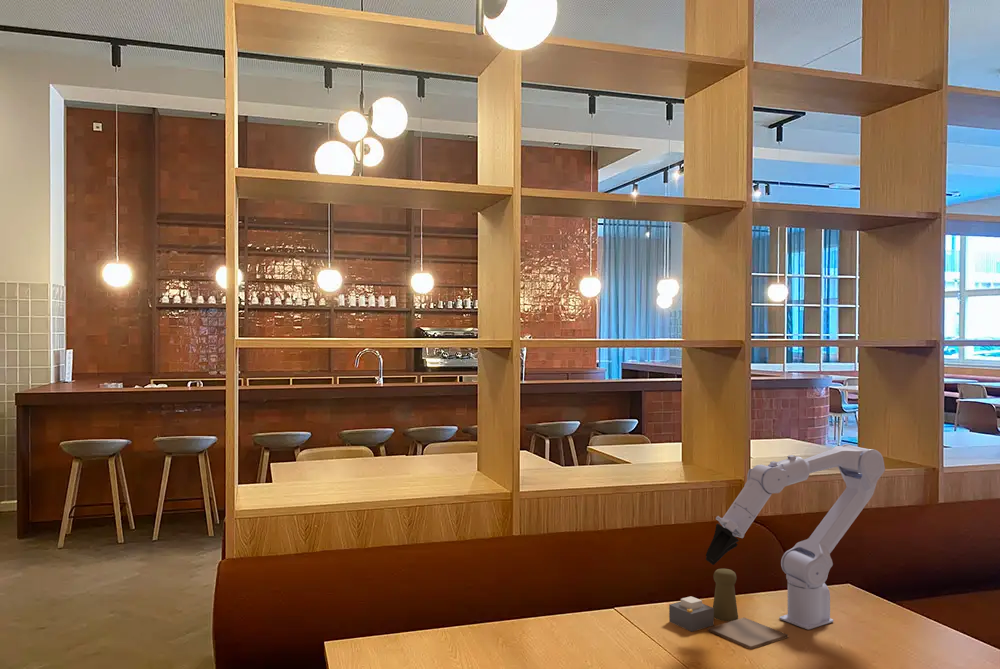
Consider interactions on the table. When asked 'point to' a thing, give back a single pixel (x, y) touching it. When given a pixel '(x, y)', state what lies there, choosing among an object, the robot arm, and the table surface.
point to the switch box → (691, 616)
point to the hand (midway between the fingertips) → (709, 560)
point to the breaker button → (691, 603)
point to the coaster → (747, 633)
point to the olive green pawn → (725, 595)
